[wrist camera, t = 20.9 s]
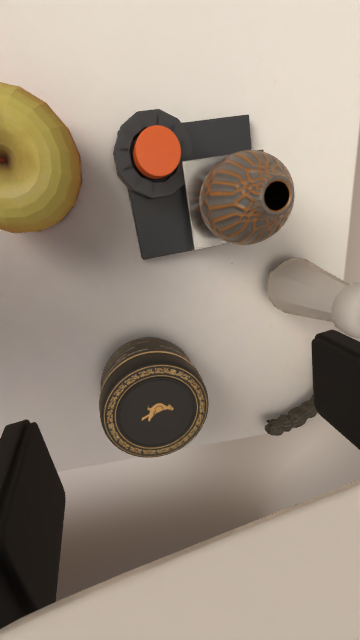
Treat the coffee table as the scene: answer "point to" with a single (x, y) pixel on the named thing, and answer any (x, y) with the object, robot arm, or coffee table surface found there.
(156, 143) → the button
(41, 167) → the apple
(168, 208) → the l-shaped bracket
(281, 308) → the salt shaker
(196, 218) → the plate
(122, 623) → the robot arm
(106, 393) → the jar
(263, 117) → the coffee table surface
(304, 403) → the toy
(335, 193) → the coffee table surface
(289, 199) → the vase
